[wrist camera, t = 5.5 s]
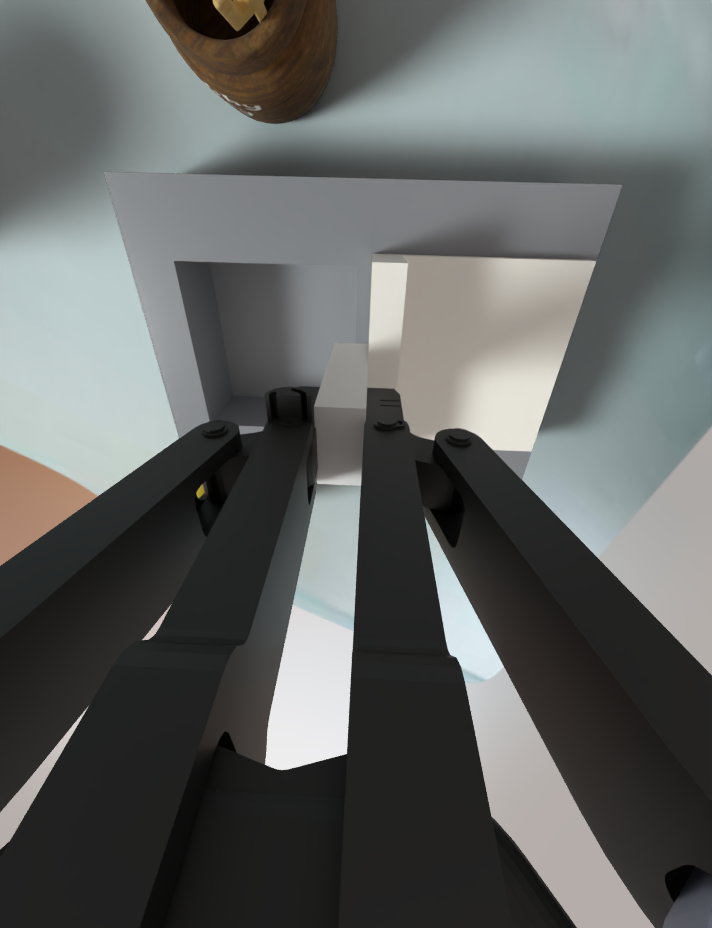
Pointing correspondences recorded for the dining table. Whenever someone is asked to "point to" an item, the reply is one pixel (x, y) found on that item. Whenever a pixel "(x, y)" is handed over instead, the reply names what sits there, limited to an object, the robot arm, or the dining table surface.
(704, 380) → the dining table surface
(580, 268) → the panel
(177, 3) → the utensil holder
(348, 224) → the socket block
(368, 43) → the dining table surface
